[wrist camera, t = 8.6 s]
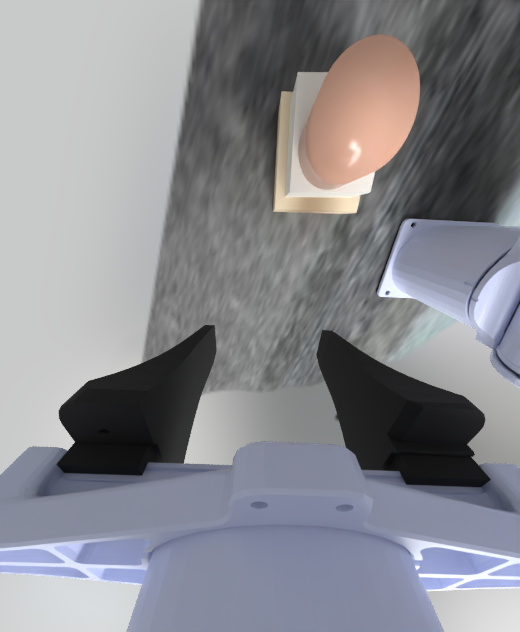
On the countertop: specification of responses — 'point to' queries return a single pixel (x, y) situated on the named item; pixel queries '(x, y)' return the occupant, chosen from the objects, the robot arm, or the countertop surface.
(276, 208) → the base block
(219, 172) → the countertop surface
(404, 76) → the pink oval piece
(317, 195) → the top block
